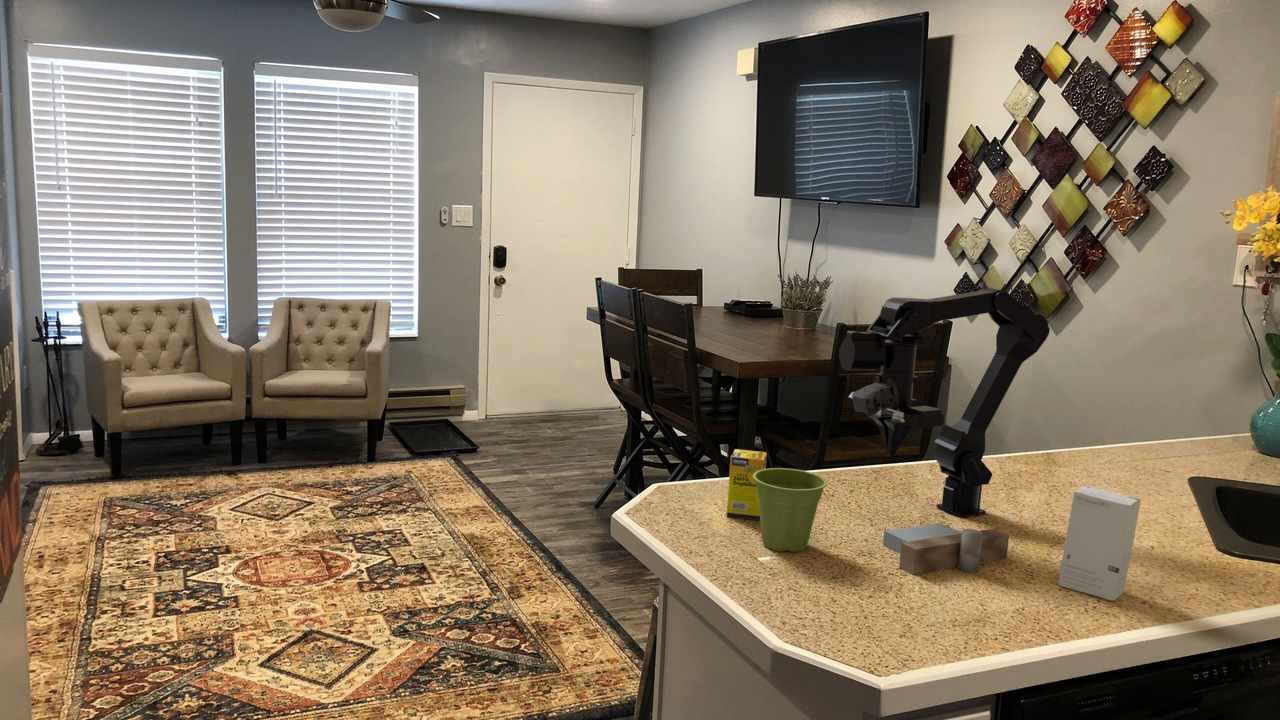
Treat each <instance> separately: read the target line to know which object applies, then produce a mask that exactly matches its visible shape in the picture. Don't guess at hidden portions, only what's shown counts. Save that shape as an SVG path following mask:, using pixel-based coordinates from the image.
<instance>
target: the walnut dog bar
mask: <svg viewBox="0 0 1280 720" xmlns="http://www.w3.org/2000/svg"><path fill="white" fill-rule="evenodd" d="M961 533H962V534H955V535H949V536H942V537H936V538H929V539H923V540H916V541H910V542H903V543H901V553H900V554H899V555H900V556H899V557H900V558H899V565H898V568H899V569H901V570H903V571H905V572H907V573H909V574H911V575H917V574H924V573H929V572H935V571H941V570H947V569H952V568H957V569H958V570H959V571H961V572H965V573H968V574H975V573H979V569H980V563H981V564H982V563H987V562H991V561H998V560H1002V559H1004V560H1005V559H1007V558H1008V549H1009V541H1010V540H1009V539H1010V534H1009V533H1007V532H1005V531H1003V530H1000V529H997V528H988V529H982V530H978V529H977V530H976V529H973V528H972V529H971V528H965V529H962V531H961Z"/></svg>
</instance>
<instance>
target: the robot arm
mask: <svg viewBox="0 0 1280 720" xmlns="http://www.w3.org/2000/svg"><path fill="white" fill-rule="evenodd" d="M984 314H988V316H989V317H990V319H991V320H992V321H993V322H994V323H995V324H996V325H997V326H998V330H997V333H996V337H995V339H996V340H995V341H996V344H995V345H996V347H995V348H996V351H995V353H994V355H993V356H992V359H991V361H990V363H989V365H988V367H987V369H986V371H985V373H984V374H983V375H982V378H981V380H980V381H979V384H978V386H977V387H976V389H975V391H974V393H973V395H972V397H971V399H970V400H969V403H968V405H967V406H966V408H965V410H964V412H963V414H962V416H961V418H960V419H959V420H958V421H957V422H955V424H953V425H951V424H950V425H949V424H947V423H945V424H944V421H945V413H944V411H942V409H940V408H937V407H932V406H928V405H921V406H917V399H916V398H913V388H914V384H915V383H919V379H920V377H919V376H916V375H915V365H916V355H917V346H928V345H929V341H928V340H926V339H925V337H924V336H923V335H922V333H921V331H923V330H926V329H929V328H930V327H932V326H934V324H937V323H939V322H942V321H948V320H955V319H960V318H965V317H972V316H973V317H974V316H978V315H984ZM1050 331H1051V329H1050V327H1049V321H1048V320H1047V318H1046V317H1045V316H1044V315H1042V314H1040V313H1035V312H1034V311H1033V310H1032V309H1031V308H1030V307H1028V306H1026V305H1024V304H1023V303H1021V302H1020V301H1018V300H1017V299H1015V298H1014V297H1013V296H1012V295H1011V294H1010V293H1008V291H1006V290H1004V289H999V288H993V287H988V288H984V289H981V290H976V291H970V292H965V293H959V294H952V295H946V296H940V297H933V298H913V297H891V298H888V299H886V300H885V302H884V304H883V305H882V307H881V309H880V312H879V314H878V315H877V316H876V317H875V319H874V321H873V322H872V323H871V325H870V326H869V327H868V328H867V329H866V331H855V330H847V331H846V335H845V336H846V337H845V338H844V339H843V341H842V342H841V345H840V347H839V351H838V358H839V363H840V366H841V367H842V369H844V370H845V371H876V370H879V368H880V373H875V376H874V377H873V382H872V383H871V384H868V385H865V386H864V387H862V388H859V389H858V390H856V391H852V392H851V393H850V394H849V395H848V396H847V407H848V408H850V409H854V411H855V412H856V413H859V412H861V413H864V414H865V415H867V416H868V418H870V419H872V420H873V421H874V422H875V423H876V424H877V425H878V429H879V431H880V434H881V438H882V441H883V442H882V443H883V446H884V448H885V449H884V451H885V454H886V456H889V457H893V456H895V455H896V453H897V451H898V449H900V446H901V445H902V443H903V441H904V440H905V438H906V436H907V435H908V434H909V432H910V431H911V430H912V428H913V427H914V428H919V429H924V428H935V427H942V428H941V430H940V433H939V435H938V437H937V438H936V439H935V440H934V441H933V443H934V444H935V446H934V449H933V454H934V458H935V461H936V463H938V465H939V469H940V473H941V474H945V475H947V477H945V480H944V486H943V490H942V491H943V492H942V499H941V503H937V504H936V505H935V507H936V508H938V509H940V510H943V511H946V512H948V513H950V514H953V515H955V516H957V517H961V518H962V517H970V516H971V517H972V516H977V515H984V514H987V511H986V509H982V508H980V507H981V498H982V490H983V486H985V485H989V484H990V481H991V479H992V477H993V472H992V471H991V470H990V469H989V468H988V467H987V465H986V464H985V463H984V462H983V461H982V460H983V458H984V455H985V452H986V432H987V430H988V428H989V426H990V424H991V422H992V421H993V419H994V417H995V415H996V413H997V412H998V409H999V408H1000V406H1001V404H1002V402H1003V400H1004V399H1005V397H1006V394H1007V393H1008V391H1009V389H1010V386H1011V385H1012V383H1013V381H1014V379H1015V378H1016V376H1017V374H1018V371H1019V370H1020V368H1021V366H1022V364H1024V362H1025V361H1026V360H1028V359H1029V358H1030V357H1032V356H1033V355H1035V354H1036V353H1038V351H1039V350H1040V349H1041V347H1042V346H1043V344H1044V343H1045V341H1046V340H1048V337H1049V335H1050Z"/></svg>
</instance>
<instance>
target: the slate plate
mask: <svg viewBox="0 0 1280 720" xmlns="http://www.w3.org/2000/svg"><path fill="white" fill-rule="evenodd" d="M955 534H962V531H959V530H957V529H955V528H952V527H950V526H948V525H945V524H943V523H941V522H938V523H931V524H924V525H917V526H916V525H915V526H908V527H903V528H901V527H900V528H893V529H887V530H884V531H883V541H882V546H883V547H885V548H887V549H888V550H890V551H892V552H895V553H896V554H899V555H900V553H901V543H903V542H910V541H916V540H923V539H929V538H936V537H942V536H949V535H955Z"/></svg>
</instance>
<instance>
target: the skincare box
mask: <svg viewBox="0 0 1280 720" xmlns="http://www.w3.org/2000/svg"><path fill="white" fill-rule="evenodd" d="M1071 501H1072V502H1071V508H1070V513H1069V518H1068V525H1067V531H1066V534H1065V535H1066V536H1065V543H1064V548H1063V552H1062V558H1061V559H1062V560H1061V564H1060V569H1059V570H1060V571H1059V575H1058V576H1059V577H1058V586H1059V587H1061V588H1065V589H1070V590H1073V591H1075V592H1080V593H1083V594H1087V595H1091V596H1095V597H1098V598H1101V599H1104V600H1107V601H1112V602H1114V601H1116V600H1117V599H1118V598H1119V597H1120V596H1122V594H1124V592H1125V588H1126V583H1127V578H1128V573H1129V572H1128V571H1129V566H1130V562H1131V557H1132V556H1131V555H1132V551H1133V545H1134V540H1135V534H1136V529H1137V523H1138V518H1139V512H1140V507H1141V501H1142V500H1141V498H1138V497H1134V496H1131V495H1126V494H1123V493H1120V492H1119V493H1118V492H1116V491H1112V490H1109V489H1102V488H1098V487H1094V486H1089V485H1083V486H1082V487H1080V488H1078V489H1075V490H1074V492H1073V497H1072V500H1071Z"/></svg>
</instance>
